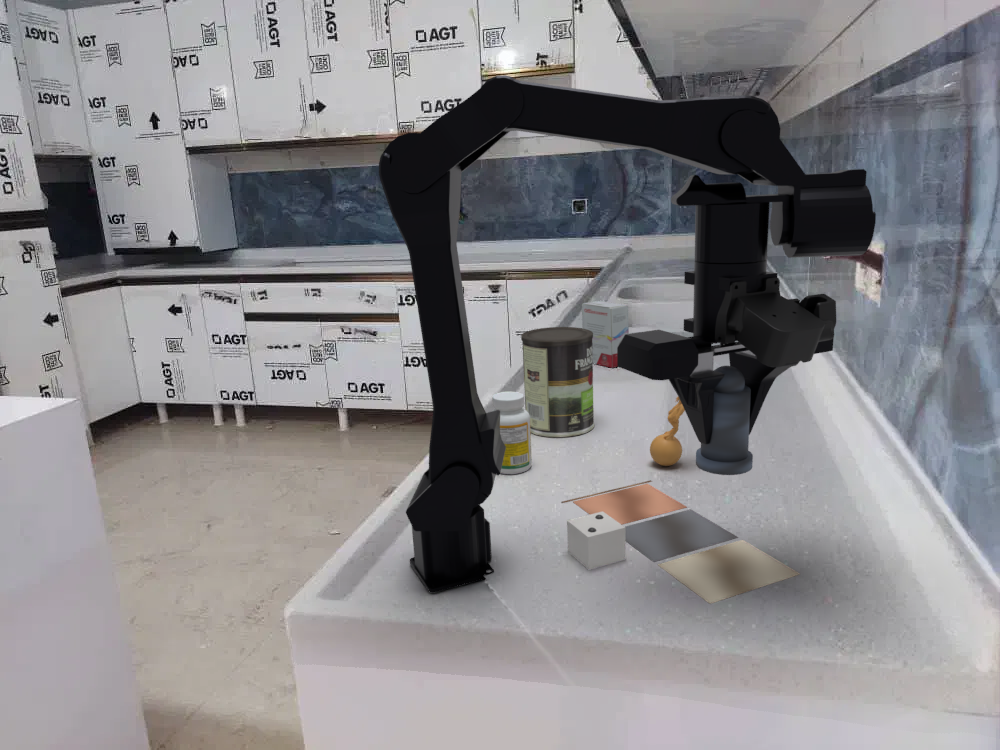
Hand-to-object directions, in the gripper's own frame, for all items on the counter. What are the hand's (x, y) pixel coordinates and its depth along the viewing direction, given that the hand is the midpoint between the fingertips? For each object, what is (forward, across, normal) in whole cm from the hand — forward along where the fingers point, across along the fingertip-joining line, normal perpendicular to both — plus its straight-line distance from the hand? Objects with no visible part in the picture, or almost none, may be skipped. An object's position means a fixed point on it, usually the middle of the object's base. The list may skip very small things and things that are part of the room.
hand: (724, 438), depth 65 cm
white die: (+13, -9, +7) cm, 17 cm away
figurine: (+13, +12, +23) cm, 29 cm away
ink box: (+13, +33, +73) cm, 81 cm away
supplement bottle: (+13, -6, +33) cm, 36 cm away
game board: (+13, 0, +7) cm, 15 cm away
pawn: (+2, 0, 0) cm, 2 cm away
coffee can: (+13, +7, +44) cm, 47 cm away
